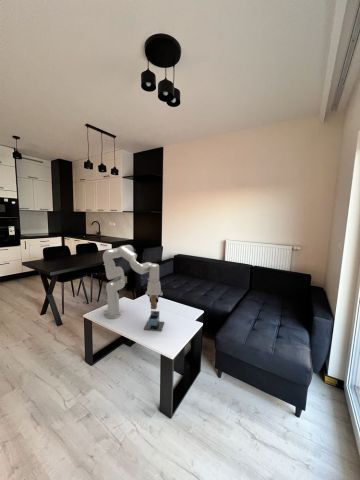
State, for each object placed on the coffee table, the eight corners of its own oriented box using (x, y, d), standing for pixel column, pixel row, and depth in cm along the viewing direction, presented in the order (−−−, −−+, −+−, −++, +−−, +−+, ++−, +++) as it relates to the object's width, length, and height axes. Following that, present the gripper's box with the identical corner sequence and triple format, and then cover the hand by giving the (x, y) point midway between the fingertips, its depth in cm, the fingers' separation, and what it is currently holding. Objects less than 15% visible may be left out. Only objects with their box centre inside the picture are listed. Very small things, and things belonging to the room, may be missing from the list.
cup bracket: (143, 329, 152) (143, 315, 151) (147, 321, 164) (148, 308, 162) (161, 331, 150) (161, 316, 149) (164, 323, 162) (164, 309, 161)
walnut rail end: (150, 309, 151) (150, 294, 150) (152, 306, 155) (152, 292, 154) (155, 309, 151) (156, 294, 150) (156, 307, 155) (157, 292, 154)
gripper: (142, 280, 148) (142, 303, 150) (163, 282, 146) (163, 305, 148) (145, 277, 155) (144, 299, 157) (165, 279, 153) (165, 301, 156)
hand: (154, 302), depth 153 cm, fingers closed on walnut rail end, 4 cm apart
